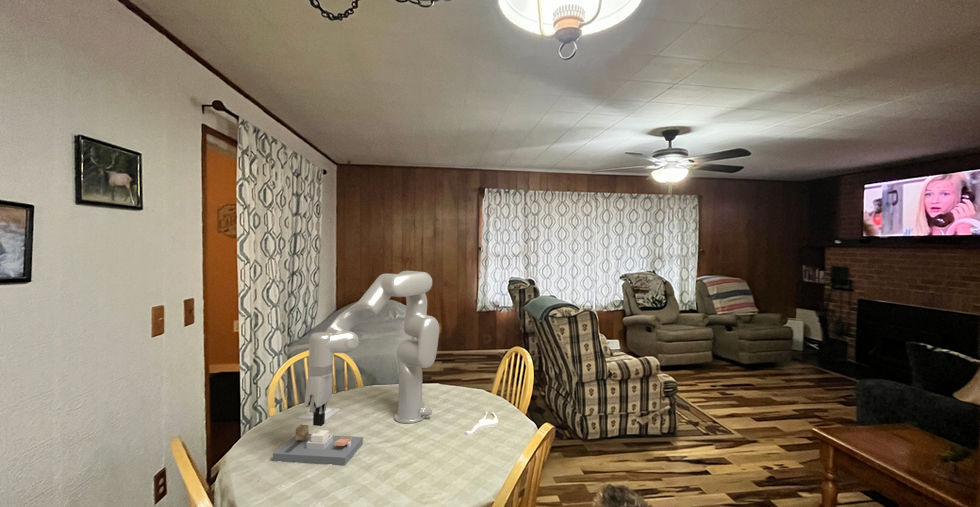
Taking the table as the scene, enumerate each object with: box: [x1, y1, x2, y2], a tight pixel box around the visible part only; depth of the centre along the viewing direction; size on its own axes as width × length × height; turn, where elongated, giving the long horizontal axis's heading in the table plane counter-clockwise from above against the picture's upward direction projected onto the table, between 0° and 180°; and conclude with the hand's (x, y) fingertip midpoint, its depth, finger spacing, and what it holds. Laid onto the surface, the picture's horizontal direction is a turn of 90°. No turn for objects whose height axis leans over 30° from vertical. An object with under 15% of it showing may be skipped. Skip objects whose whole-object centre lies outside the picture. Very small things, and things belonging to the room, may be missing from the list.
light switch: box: [296, 407, 341, 422], centre depth 163 cm, size 11×4×13 cm
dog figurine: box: [462, 411, 499, 437], centre depth 155 cm, size 2×13×20 cm
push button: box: [311, 429, 330, 443], centre depth 132 cm, size 4×4×2 cm
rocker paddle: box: [334, 437, 352, 446], centre depth 132 cm, size 3×6×2 cm, turn 175°
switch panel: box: [272, 433, 364, 466], centre depth 132 cm, size 24×14×4 cm, turn 85°
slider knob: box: [295, 424, 310, 440], centre depth 136 cm, size 3×3×4 cm
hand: (318, 424), depth 132 cm, fingers closed
